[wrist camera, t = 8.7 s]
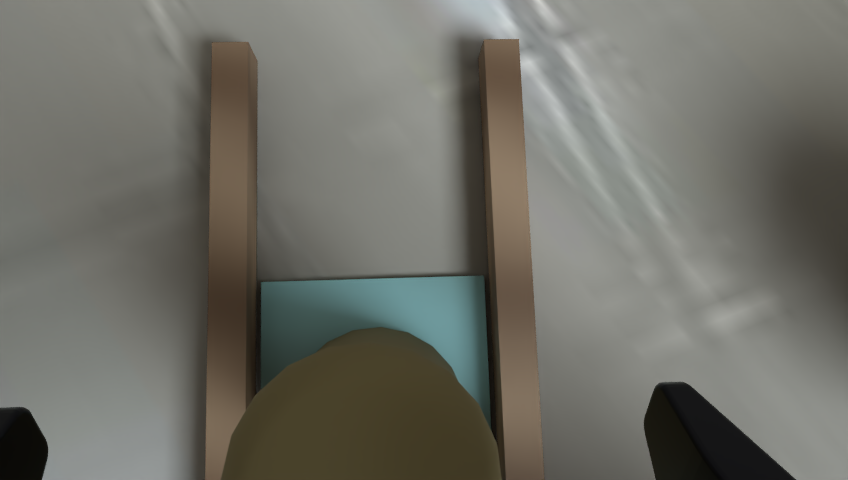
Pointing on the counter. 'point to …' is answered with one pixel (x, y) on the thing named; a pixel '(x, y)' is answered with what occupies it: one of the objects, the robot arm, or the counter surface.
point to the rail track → (373, 298)
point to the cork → (364, 417)
